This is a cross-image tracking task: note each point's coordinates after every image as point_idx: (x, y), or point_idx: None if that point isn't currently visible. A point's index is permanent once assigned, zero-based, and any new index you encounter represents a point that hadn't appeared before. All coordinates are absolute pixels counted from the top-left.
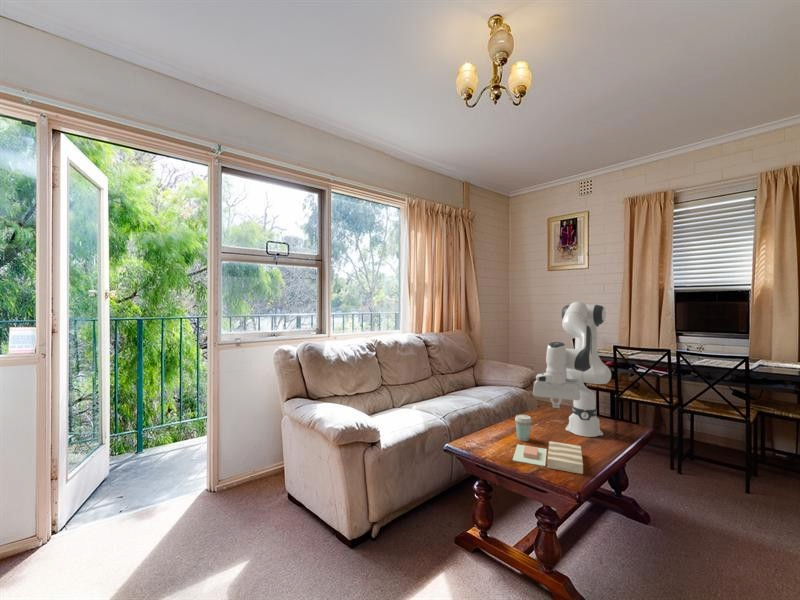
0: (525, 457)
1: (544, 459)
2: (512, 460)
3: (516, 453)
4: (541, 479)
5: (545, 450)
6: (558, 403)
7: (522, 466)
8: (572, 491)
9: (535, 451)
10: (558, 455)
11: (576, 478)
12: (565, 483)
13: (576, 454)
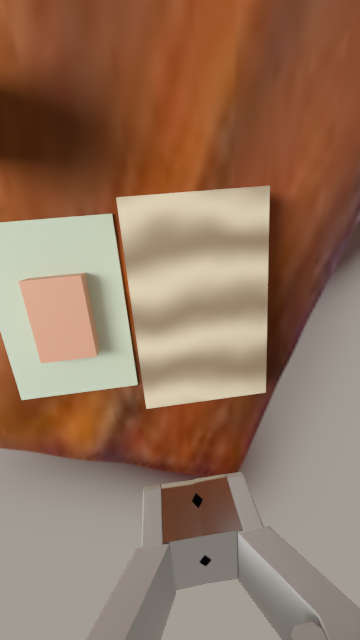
0: None
1: (125, 335)
2: (22, 398)
3: (10, 336)
4: (144, 466)
5: (109, 236)
6: (253, 600)
7: (70, 421)
8: None
9: (81, 323)
10: (180, 358)
11: (234, 411)
12: (206, 453)
13: (247, 309)
